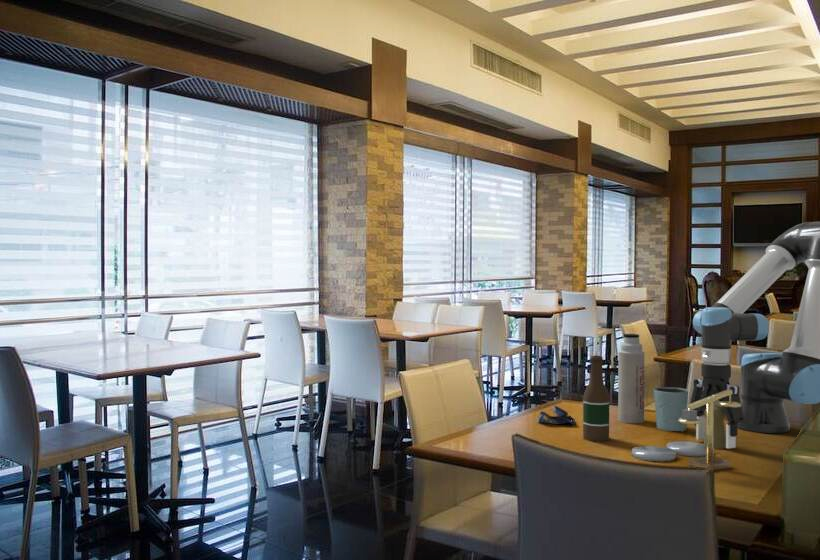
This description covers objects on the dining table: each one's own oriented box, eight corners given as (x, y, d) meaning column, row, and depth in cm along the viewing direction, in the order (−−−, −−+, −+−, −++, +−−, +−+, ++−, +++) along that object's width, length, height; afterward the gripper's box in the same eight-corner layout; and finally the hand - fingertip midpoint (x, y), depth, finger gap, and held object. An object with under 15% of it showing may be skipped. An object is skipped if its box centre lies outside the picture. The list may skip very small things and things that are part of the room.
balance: (727, 458, 182) (727, 386, 181) (746, 465, 176) (747, 390, 176) (672, 467, 174) (672, 392, 174) (690, 474, 169) (691, 396, 168)
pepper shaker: (729, 449, 191) (730, 409, 191) (706, 448, 193) (706, 408, 192) (724, 443, 197) (724, 404, 197) (701, 442, 199) (701, 403, 198)
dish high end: (688, 444, 197) (688, 439, 197) (719, 453, 187) (719, 449, 187) (657, 448, 193) (657, 443, 192) (688, 458, 182) (688, 453, 182)
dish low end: (654, 448, 192) (654, 444, 192) (685, 458, 182) (685, 454, 182) (622, 453, 188) (622, 448, 188) (652, 463, 178) (652, 459, 178)
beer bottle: (578, 435, 207) (579, 354, 206) (604, 435, 208) (604, 354, 207) (587, 442, 199) (588, 358, 199) (614, 441, 200) (614, 357, 199)
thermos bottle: (649, 421, 224) (650, 334, 224) (631, 424, 221) (631, 335, 220) (631, 417, 232) (631, 332, 231) (612, 419, 228) (613, 333, 227)
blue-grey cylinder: (677, 433, 209) (678, 393, 208) (646, 428, 216) (646, 389, 216) (694, 428, 215) (694, 389, 215) (663, 423, 223) (663, 385, 223)
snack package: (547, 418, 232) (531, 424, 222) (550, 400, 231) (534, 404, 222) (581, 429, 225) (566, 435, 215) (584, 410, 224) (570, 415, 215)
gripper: (675, 358, 203) (675, 435, 204) (739, 369, 183) (738, 454, 183) (695, 357, 206) (694, 433, 207) (760, 367, 186) (759, 451, 186)
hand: (715, 443), depth 195 cm, fingers open, 10 cm apart
